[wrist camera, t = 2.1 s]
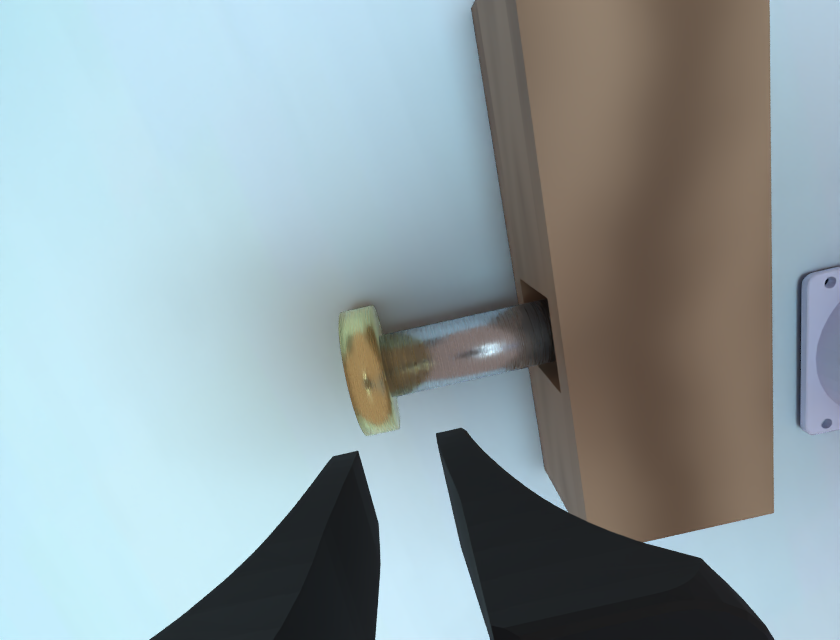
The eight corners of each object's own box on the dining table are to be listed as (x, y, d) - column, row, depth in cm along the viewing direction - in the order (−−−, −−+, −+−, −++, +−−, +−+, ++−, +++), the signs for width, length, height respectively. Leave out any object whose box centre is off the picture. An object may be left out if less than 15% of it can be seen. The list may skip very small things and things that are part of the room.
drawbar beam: (655, -33, 18) (768, -123, 13) (685, 437, 24) (773, 513, 18) (470, 8, 18) (506, -66, 13) (544, 469, 24) (591, 554, 18)
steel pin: (560, 251, 20) (611, 271, 16) (574, 357, 22) (624, 404, 17) (345, 299, 20) (332, 333, 16) (372, 402, 22) (367, 461, 17)
